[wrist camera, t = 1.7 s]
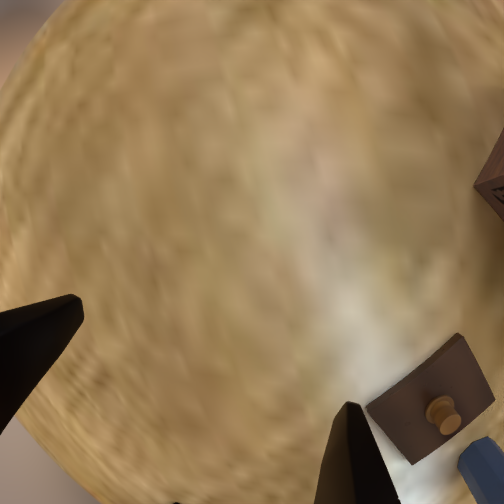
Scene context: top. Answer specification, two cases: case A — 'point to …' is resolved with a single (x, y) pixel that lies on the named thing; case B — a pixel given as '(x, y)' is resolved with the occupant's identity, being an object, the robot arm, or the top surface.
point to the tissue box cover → (493, 178)
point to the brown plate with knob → (433, 401)
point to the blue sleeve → (484, 471)
